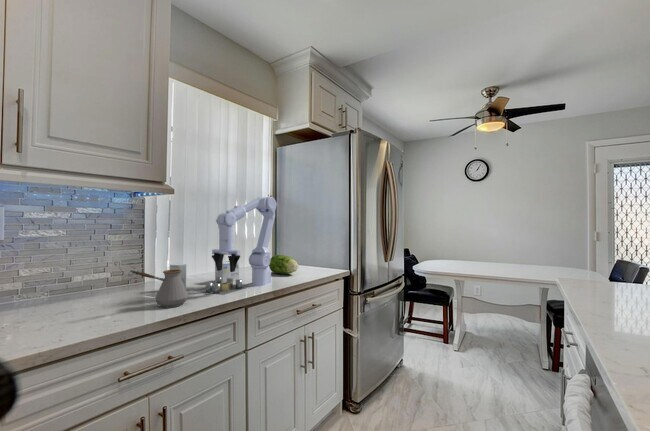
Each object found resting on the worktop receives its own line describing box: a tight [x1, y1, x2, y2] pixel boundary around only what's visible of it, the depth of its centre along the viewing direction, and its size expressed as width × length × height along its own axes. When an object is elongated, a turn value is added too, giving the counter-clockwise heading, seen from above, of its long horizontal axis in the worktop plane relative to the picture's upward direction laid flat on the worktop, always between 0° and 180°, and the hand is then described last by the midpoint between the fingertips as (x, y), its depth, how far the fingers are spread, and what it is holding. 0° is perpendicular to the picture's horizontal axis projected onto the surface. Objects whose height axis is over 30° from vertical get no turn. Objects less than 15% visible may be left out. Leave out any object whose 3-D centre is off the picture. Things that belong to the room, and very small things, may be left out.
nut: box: [220, 282, 231, 291], centre depth 142 cm, size 5×5×3 cm
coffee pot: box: [127, 269, 190, 308], centre depth 115 cm, size 21×12×15 cm, turn 148°
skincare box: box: [169, 263, 187, 290], centre depth 144 cm, size 6×4×12 cm
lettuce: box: [268, 254, 299, 275], centre depth 188 cm, size 12×21×11 cm, turn 50°
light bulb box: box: [214, 260, 240, 283], centre depth 162 cm, size 11×7×11 cm, turn 145°
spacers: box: [205, 277, 243, 295], centre depth 143 cm, size 15×16×4 cm
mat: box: [193, 286, 247, 296], centre depth 143 cm, size 15×18×1 cm
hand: (226, 271), depth 138 cm, fingers open, 7 cm apart
